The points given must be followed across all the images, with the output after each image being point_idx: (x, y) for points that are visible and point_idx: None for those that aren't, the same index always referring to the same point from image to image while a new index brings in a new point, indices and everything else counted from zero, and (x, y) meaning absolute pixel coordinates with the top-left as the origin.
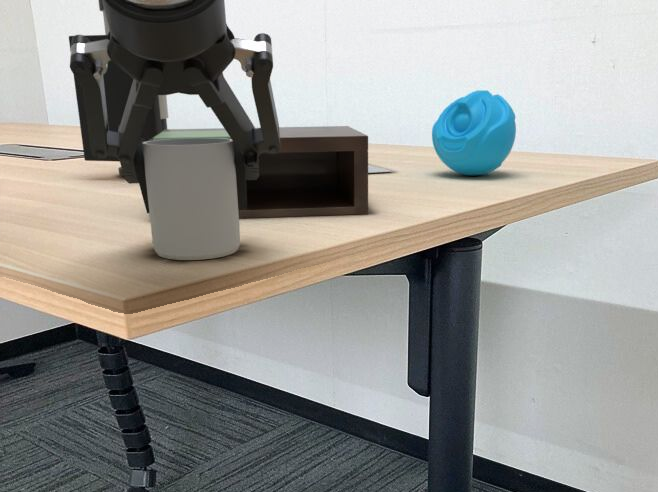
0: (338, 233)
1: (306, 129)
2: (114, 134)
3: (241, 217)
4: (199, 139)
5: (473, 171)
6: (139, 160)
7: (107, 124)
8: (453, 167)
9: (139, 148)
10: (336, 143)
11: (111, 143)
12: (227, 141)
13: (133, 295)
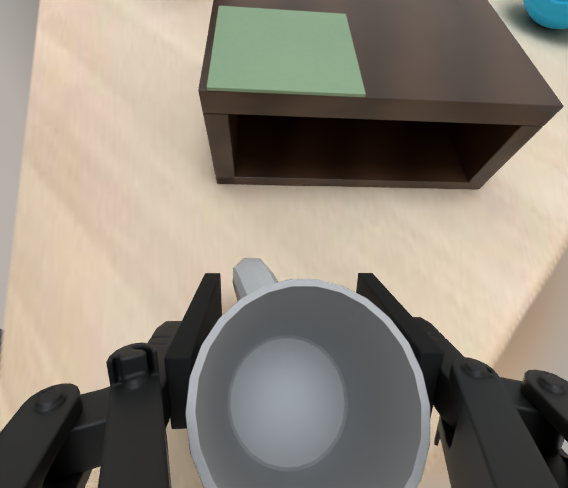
0: (466, 297)
1: (430, 8)
2: (96, 432)
3: (324, 185)
4: (321, 288)
5: (556, 27)
6: (184, 416)
7: (57, 453)
8: (536, 17)
9: (180, 385)
10: (505, 113)
11: (93, 465)
12: (397, 344)
13: None
